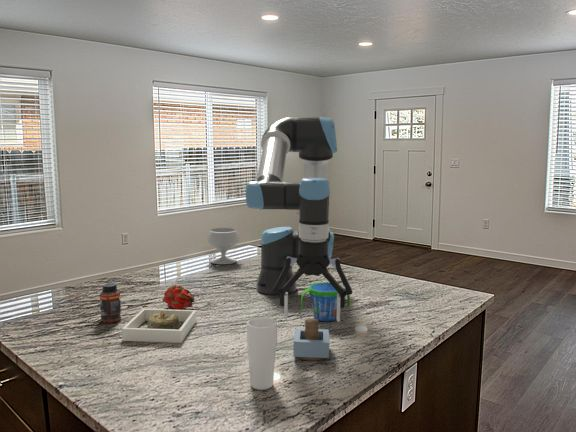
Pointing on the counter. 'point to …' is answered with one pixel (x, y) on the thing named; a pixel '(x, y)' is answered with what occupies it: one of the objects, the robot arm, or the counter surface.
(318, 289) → the snack cup
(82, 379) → the counter surface
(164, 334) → the cream rectangular open frame
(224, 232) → the chalice
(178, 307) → the dragon fruit
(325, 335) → the collar
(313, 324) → the post
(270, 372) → the drinking glass
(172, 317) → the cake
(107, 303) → the supplement bottle
